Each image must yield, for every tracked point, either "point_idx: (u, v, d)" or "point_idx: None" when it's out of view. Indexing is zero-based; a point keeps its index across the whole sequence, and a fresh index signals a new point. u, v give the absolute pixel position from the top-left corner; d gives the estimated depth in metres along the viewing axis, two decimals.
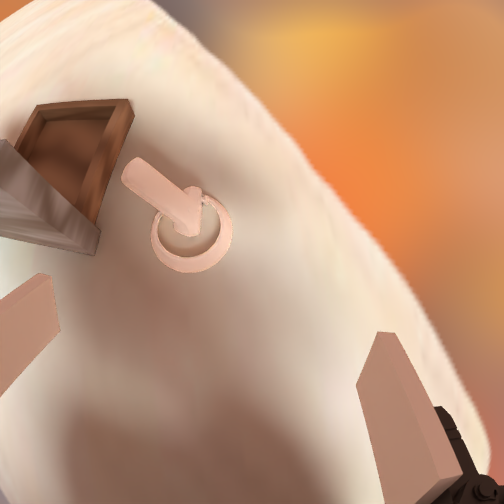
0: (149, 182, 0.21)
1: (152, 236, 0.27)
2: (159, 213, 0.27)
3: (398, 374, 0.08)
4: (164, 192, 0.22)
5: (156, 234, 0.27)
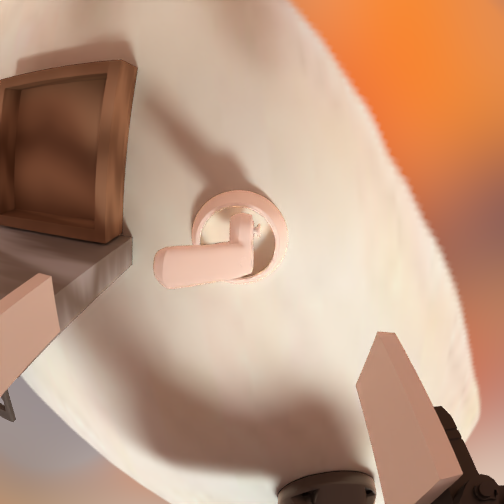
0: (192, 273, 0.17)
1: None
2: (200, 228, 0.23)
3: (398, 374, 0.08)
4: (211, 269, 0.18)
5: None
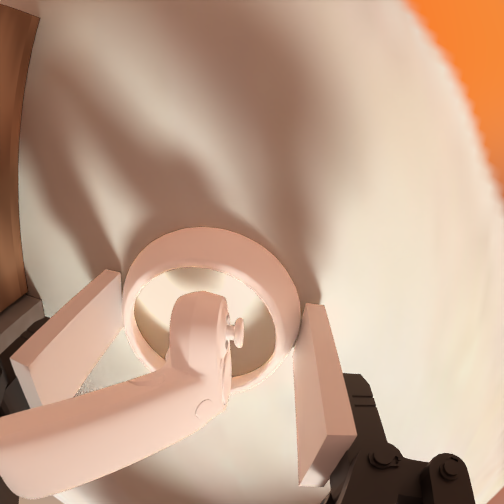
0: (72, 474, 0.05)
1: None
2: (128, 305, 0.11)
3: (313, 338, 0.10)
4: (122, 452, 0.06)
5: (136, 347, 0.12)
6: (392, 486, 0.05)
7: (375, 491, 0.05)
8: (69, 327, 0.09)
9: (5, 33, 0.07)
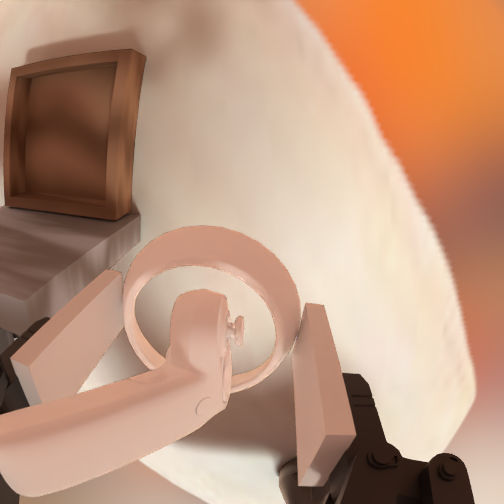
0: (73, 472, 0.05)
1: None
2: (129, 304, 0.11)
3: (312, 338, 0.10)
4: (122, 450, 0.06)
5: (136, 345, 0.12)
6: (391, 486, 0.05)
7: (375, 491, 0.05)
8: (69, 327, 0.09)
9: (133, 65, 0.20)
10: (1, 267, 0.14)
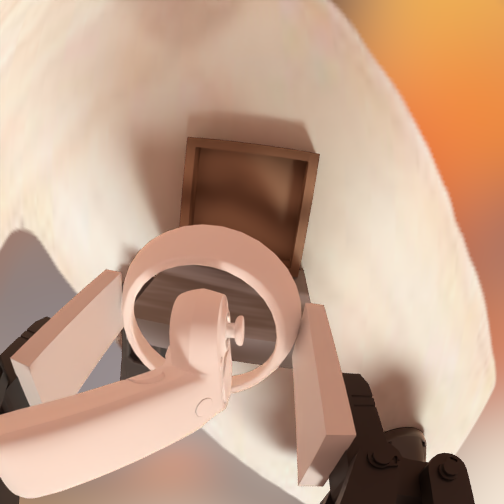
0: (71, 473, 0.05)
1: None
2: (128, 303, 0.11)
3: (312, 338, 0.10)
4: (121, 451, 0.06)
5: (136, 345, 0.12)
6: (391, 486, 0.05)
7: (375, 490, 0.05)
8: (70, 327, 0.09)
9: None
10: (268, 325, 0.26)
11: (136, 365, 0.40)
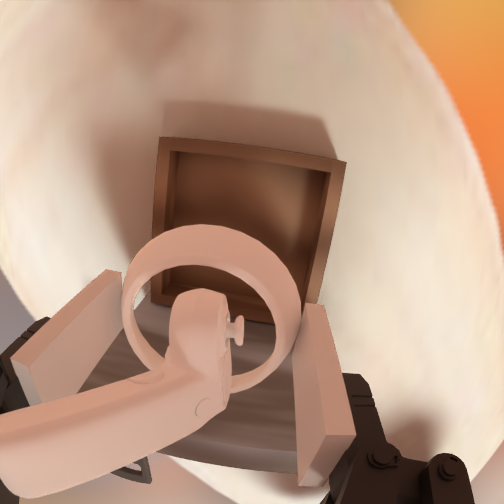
0: (70, 474, 0.05)
1: None
2: (128, 303, 0.11)
3: (312, 338, 0.10)
4: (120, 451, 0.06)
5: (135, 345, 0.12)
6: (391, 486, 0.05)
7: (375, 491, 0.05)
8: (70, 327, 0.09)
9: None
10: (270, 419, 0.17)
11: None
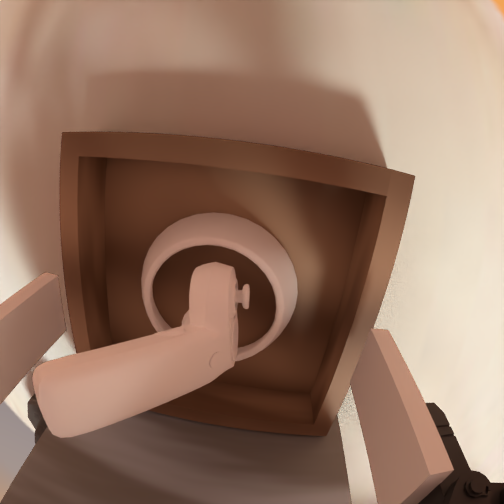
0: (106, 411, 0.07)
1: None
2: (149, 280, 0.13)
3: (390, 370, 0.09)
4: (148, 392, 0.08)
5: (154, 318, 0.14)
6: None
7: None
8: None
9: None
10: None
11: None
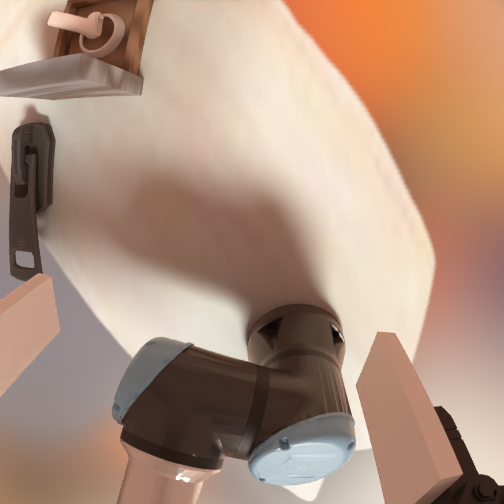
0: (61, 20, 0.25)
1: None
2: None
3: (398, 374, 0.08)
4: (70, 22, 0.26)
5: (80, 42, 0.33)
6: None
7: None
8: None
9: None
10: None
11: (18, 200, 0.38)
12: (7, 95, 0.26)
